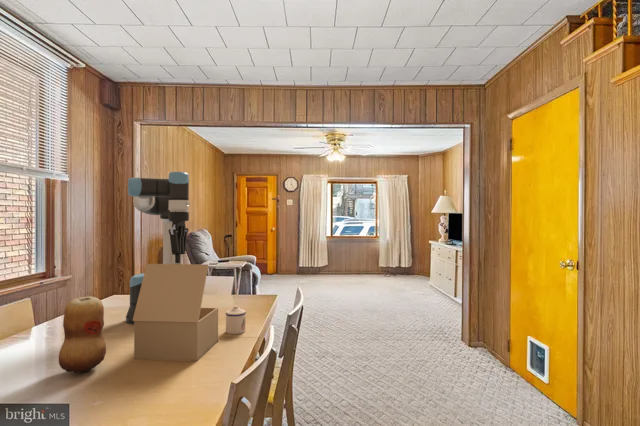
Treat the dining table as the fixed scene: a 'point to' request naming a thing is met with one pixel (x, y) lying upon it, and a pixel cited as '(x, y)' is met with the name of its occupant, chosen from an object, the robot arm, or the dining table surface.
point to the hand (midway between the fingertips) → (178, 270)
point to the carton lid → (171, 293)
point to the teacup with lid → (235, 320)
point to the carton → (176, 338)
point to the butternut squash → (83, 335)
